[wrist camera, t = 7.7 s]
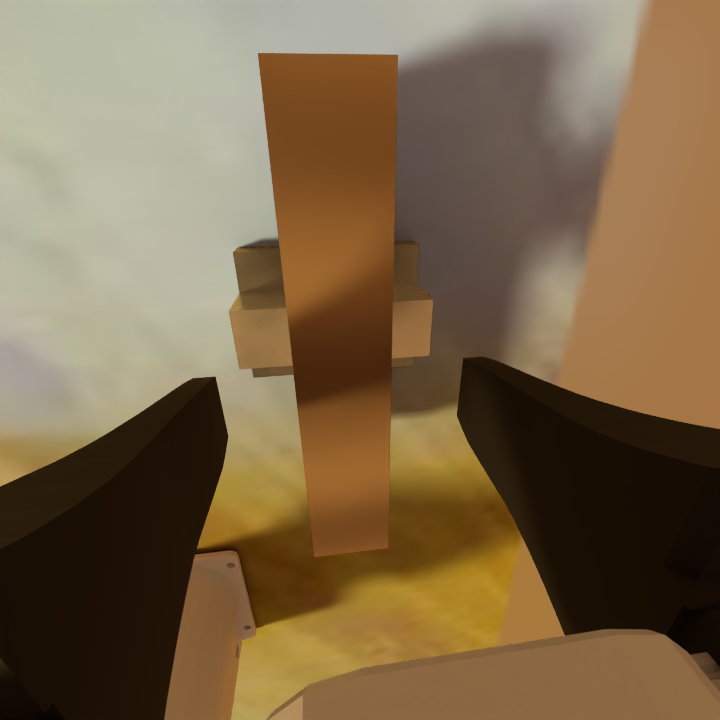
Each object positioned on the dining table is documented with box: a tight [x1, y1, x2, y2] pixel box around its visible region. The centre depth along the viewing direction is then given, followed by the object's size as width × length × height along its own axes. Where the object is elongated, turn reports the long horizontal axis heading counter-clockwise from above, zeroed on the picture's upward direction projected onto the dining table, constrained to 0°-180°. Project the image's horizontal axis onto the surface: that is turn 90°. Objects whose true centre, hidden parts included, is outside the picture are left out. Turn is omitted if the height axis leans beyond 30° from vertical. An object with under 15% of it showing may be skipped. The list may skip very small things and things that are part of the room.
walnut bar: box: [258, 53, 398, 557], centre depth 13 cm, size 16×3×4 cm, turn 1°
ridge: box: [229, 241, 433, 377], centre depth 17 cm, size 6×8×4 cm
